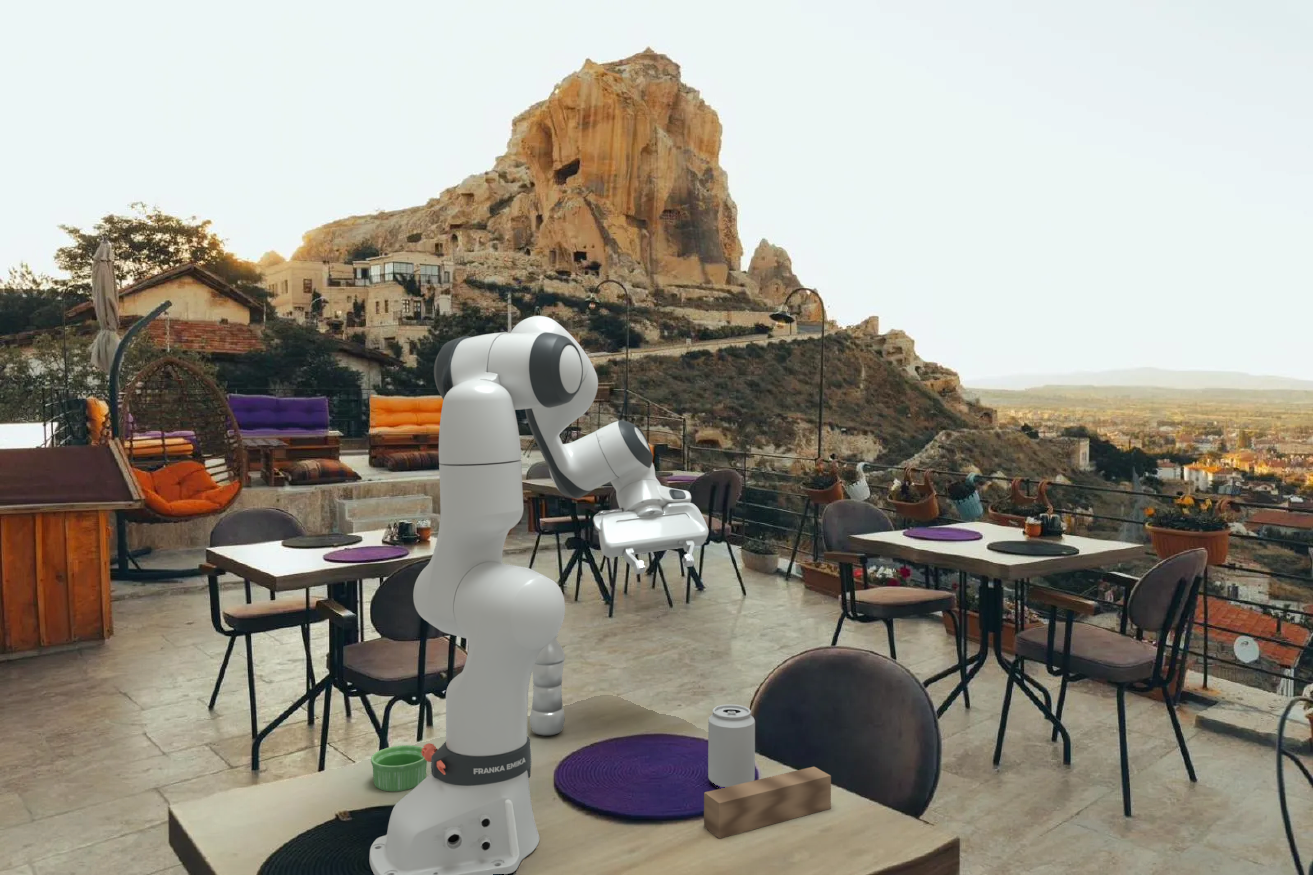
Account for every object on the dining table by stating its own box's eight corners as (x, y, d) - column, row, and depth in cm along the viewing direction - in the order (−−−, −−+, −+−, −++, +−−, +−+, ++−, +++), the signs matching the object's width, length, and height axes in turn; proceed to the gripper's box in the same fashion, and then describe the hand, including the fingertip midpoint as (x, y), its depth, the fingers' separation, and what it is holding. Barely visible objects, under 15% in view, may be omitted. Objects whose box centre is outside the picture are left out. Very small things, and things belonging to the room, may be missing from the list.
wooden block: (719, 838, 121) (719, 803, 121) (703, 827, 125) (704, 792, 125) (830, 808, 131) (830, 775, 131) (813, 798, 134) (814, 766, 134)
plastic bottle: (552, 724, 167) (552, 621, 167) (571, 734, 162) (571, 627, 162) (523, 732, 163) (522, 626, 163) (542, 742, 158) (542, 633, 157)
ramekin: (358, 789, 138) (358, 761, 138) (393, 768, 146) (393, 742, 146) (407, 797, 135) (407, 769, 135) (439, 775, 143) (439, 748, 143)
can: (754, 774, 144) (754, 702, 143) (755, 793, 136) (755, 717, 136) (709, 772, 144) (709, 701, 144) (707, 791, 137) (707, 716, 137)
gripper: (593, 502, 156) (613, 566, 148) (697, 490, 164) (721, 551, 155) (587, 522, 161) (606, 586, 153) (688, 510, 168) (712, 570, 160)
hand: (665, 568), depth 154 cm, fingers open, 8 cm apart
